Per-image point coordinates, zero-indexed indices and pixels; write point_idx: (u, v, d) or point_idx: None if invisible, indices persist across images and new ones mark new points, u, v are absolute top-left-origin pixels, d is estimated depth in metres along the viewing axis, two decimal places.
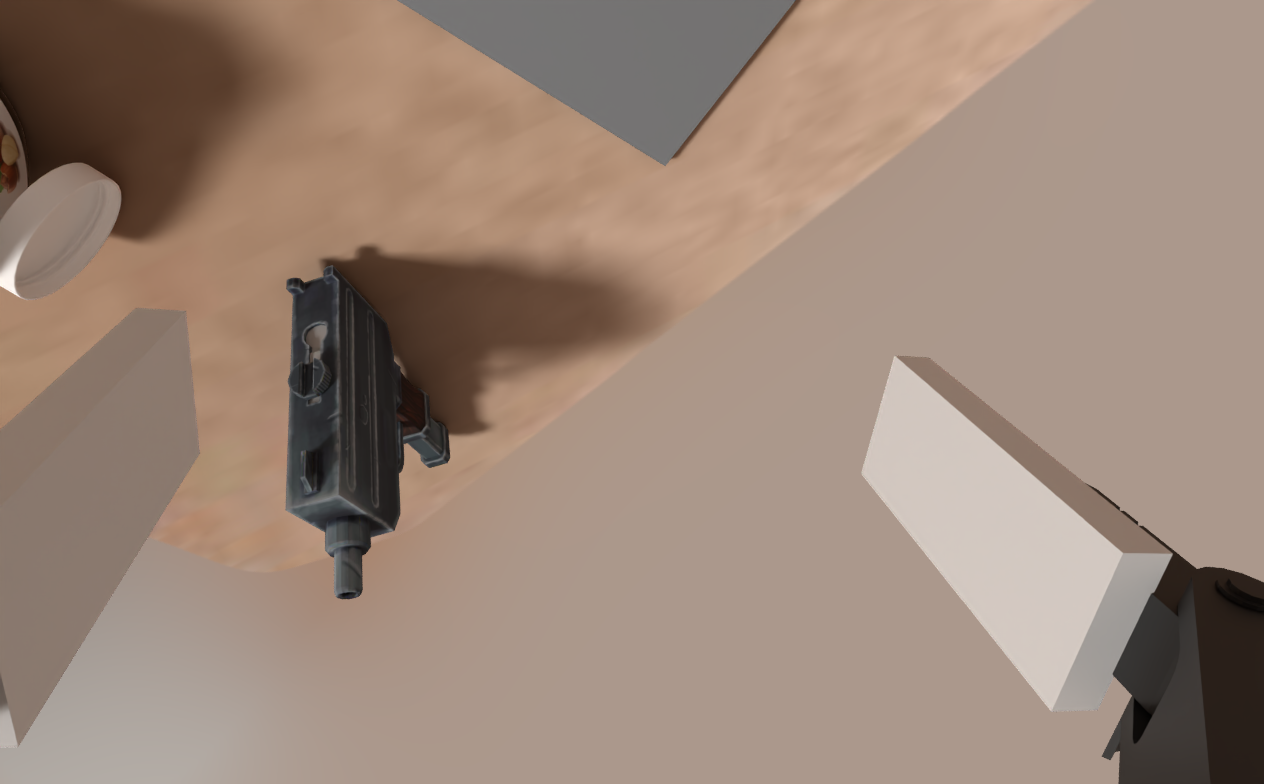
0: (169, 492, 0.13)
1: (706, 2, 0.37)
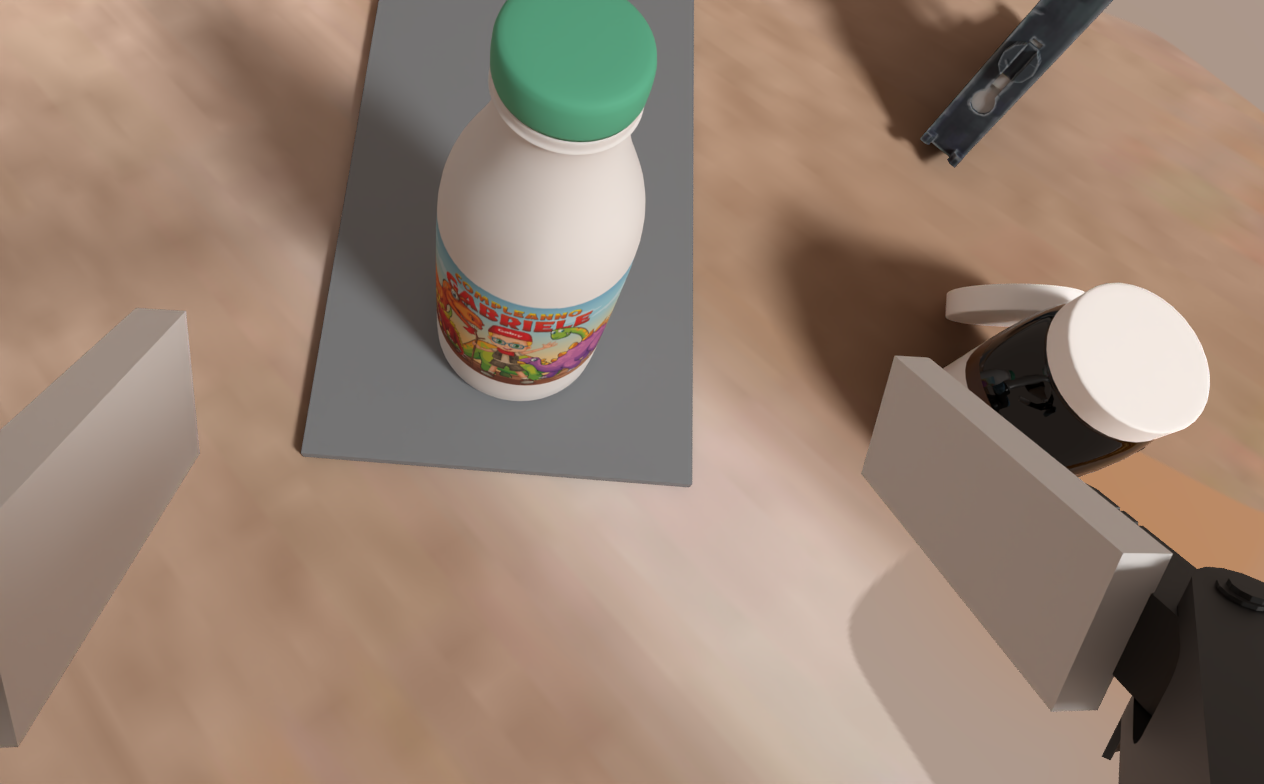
0: (169, 492, 0.13)
1: None
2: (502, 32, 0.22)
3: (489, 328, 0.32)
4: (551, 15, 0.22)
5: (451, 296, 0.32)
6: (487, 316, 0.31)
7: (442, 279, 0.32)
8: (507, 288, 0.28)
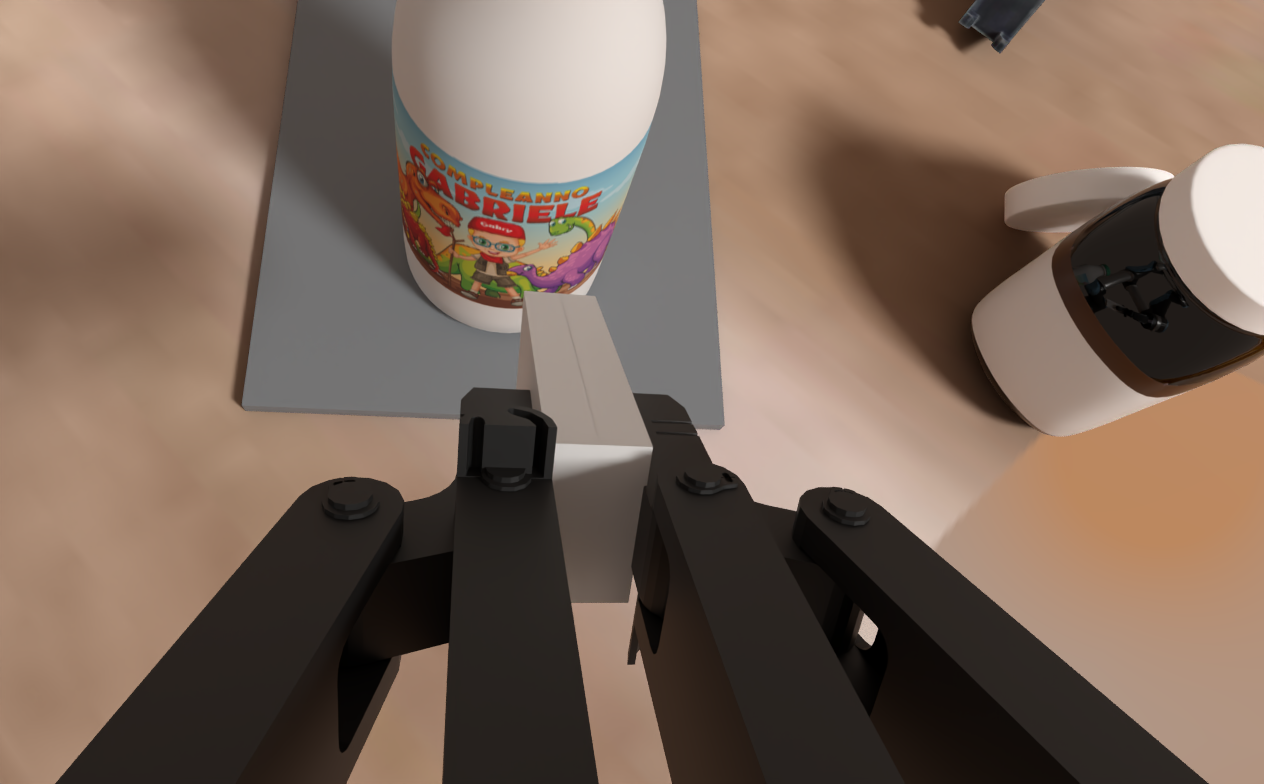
0: None
1: None
2: None
3: (469, 222, 0.25)
4: None
5: (418, 184, 0.25)
6: (466, 204, 0.24)
7: (405, 163, 0.25)
8: (490, 153, 0.21)
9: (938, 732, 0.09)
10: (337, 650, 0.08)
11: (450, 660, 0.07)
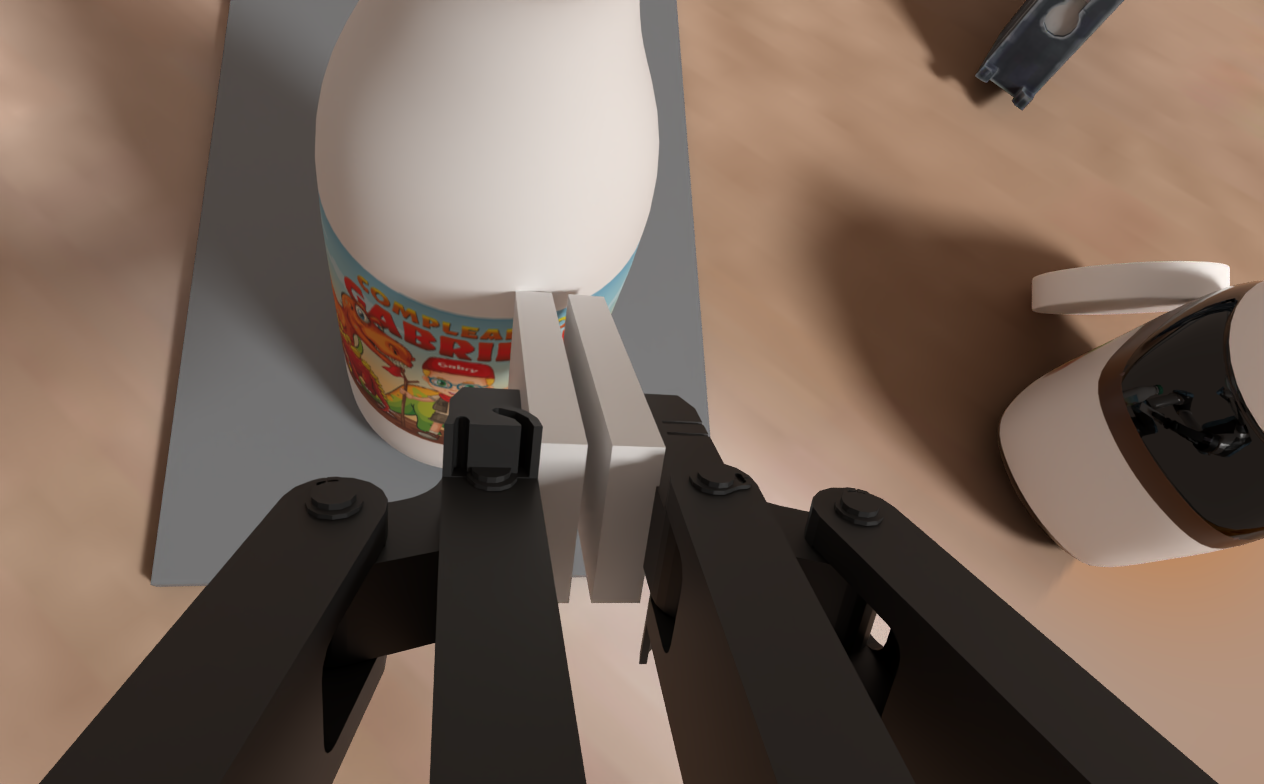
0: None
1: None
2: None
3: (423, 363, 0.20)
4: None
5: (357, 319, 0.20)
6: (418, 343, 0.19)
7: (340, 294, 0.20)
8: (447, 288, 0.17)
9: (949, 732, 0.09)
10: (321, 650, 0.08)
11: (436, 661, 0.07)
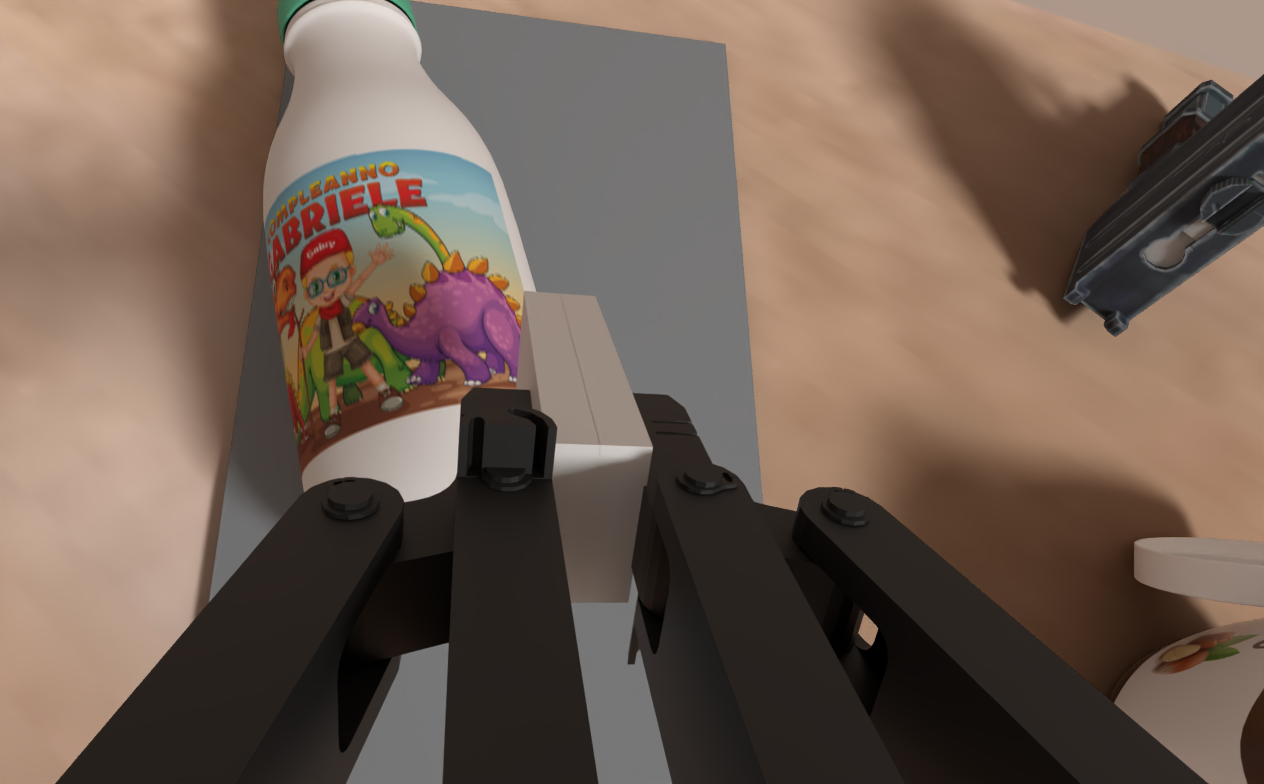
0: None
1: (557, 85, 0.34)
2: None
3: (300, 270, 0.22)
4: None
5: (275, 306, 0.24)
6: (292, 244, 0.23)
7: None
8: (294, 156, 0.23)
9: (938, 732, 0.09)
10: (337, 649, 0.08)
11: (450, 660, 0.07)
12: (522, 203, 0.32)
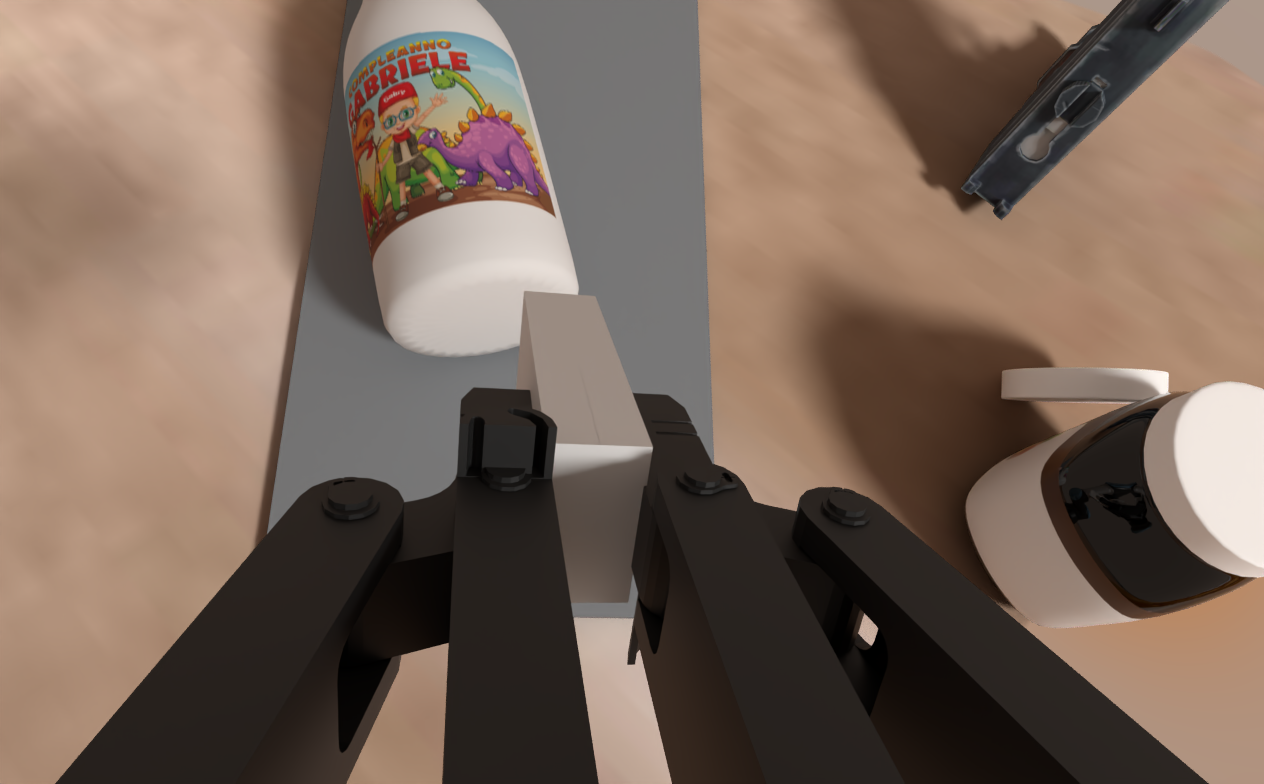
0: None
1: (560, 10, 0.43)
2: None
3: (378, 110, 0.31)
4: None
5: (355, 141, 0.33)
6: (372, 93, 0.32)
7: (352, 151, 0.33)
8: (374, 33, 0.32)
9: (938, 732, 0.09)
10: (337, 649, 0.08)
11: (450, 660, 0.07)
12: (530, 98, 0.41)
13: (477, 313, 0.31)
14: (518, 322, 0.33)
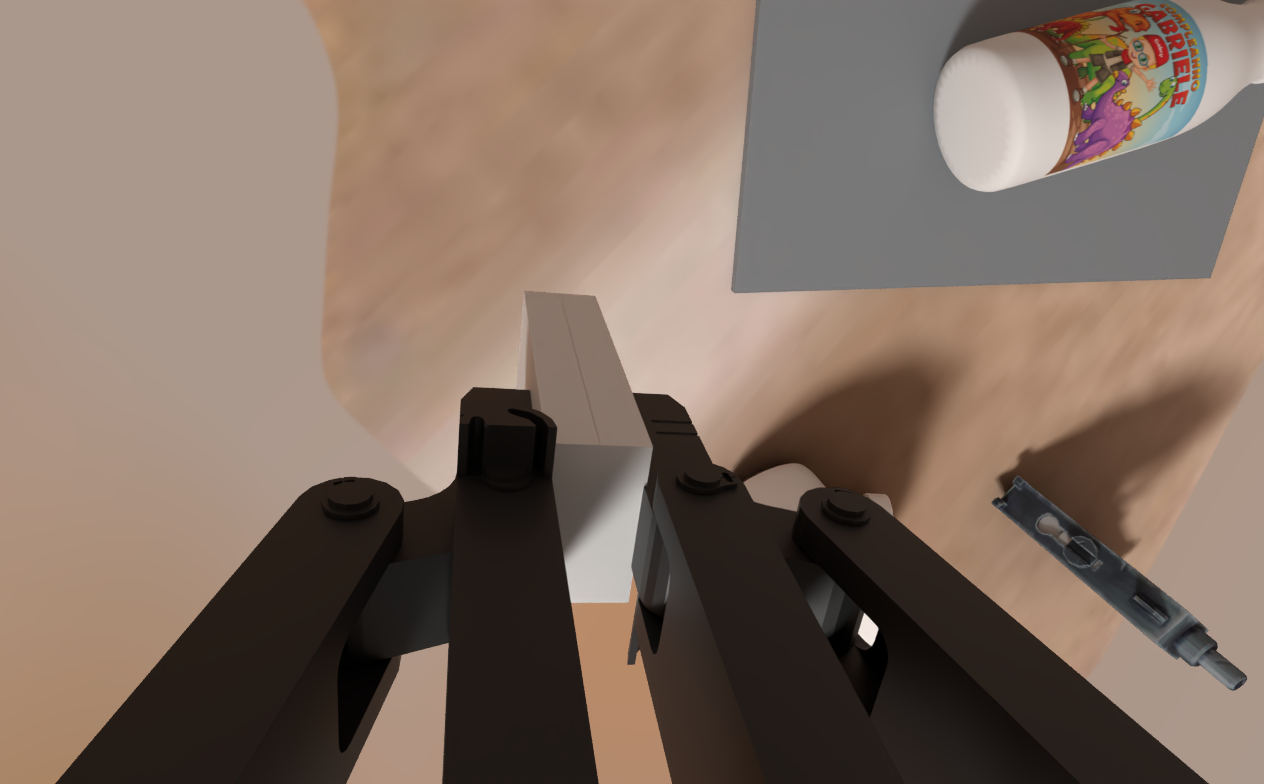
0: None
1: (1204, 165, 0.52)
2: None
3: (1148, 34, 0.41)
4: None
5: (1123, 12, 0.42)
6: (1162, 28, 0.41)
7: (1114, 8, 0.42)
8: (1212, 26, 0.41)
9: (938, 732, 0.09)
10: (337, 650, 0.08)
11: (450, 660, 0.07)
12: None
13: (978, 117, 0.43)
14: (963, 145, 0.45)
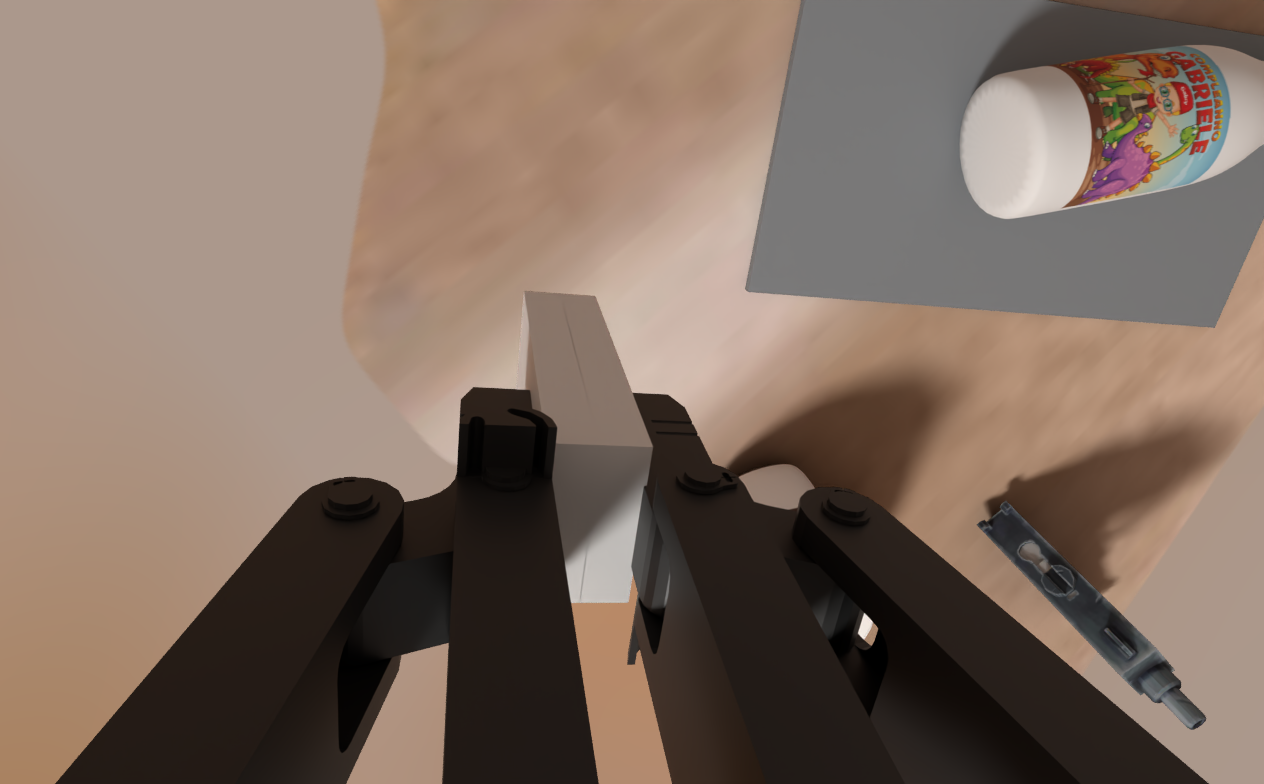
0: None
1: (1219, 216, 0.53)
2: None
3: (1175, 81, 0.42)
4: None
5: (1154, 57, 0.43)
6: (1189, 77, 0.42)
7: (1145, 53, 0.43)
8: (1238, 80, 0.42)
9: (938, 732, 0.09)
10: (337, 649, 0.08)
11: (450, 660, 0.07)
12: None
13: (1002, 144, 0.44)
14: (985, 171, 0.46)
